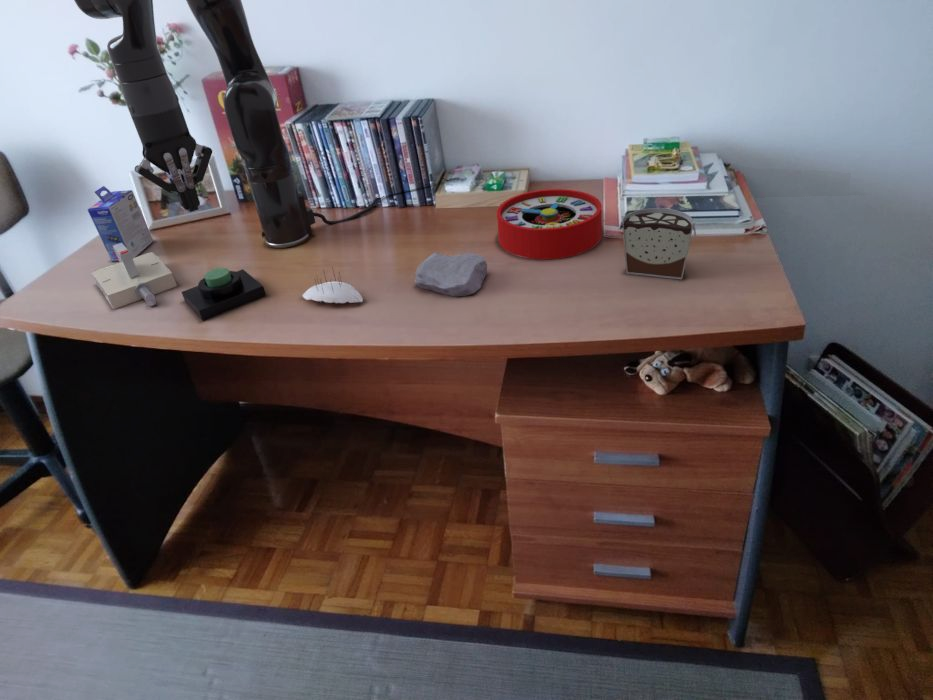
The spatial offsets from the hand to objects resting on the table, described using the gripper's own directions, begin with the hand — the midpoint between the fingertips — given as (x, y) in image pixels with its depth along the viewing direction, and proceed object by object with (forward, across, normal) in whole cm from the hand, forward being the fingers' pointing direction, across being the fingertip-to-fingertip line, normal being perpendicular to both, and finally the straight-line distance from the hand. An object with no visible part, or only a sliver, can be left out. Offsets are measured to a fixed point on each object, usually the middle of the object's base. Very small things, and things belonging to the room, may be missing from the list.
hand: (192, 209), depth 116 cm
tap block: (+17, +10, -19) cm, 27 cm away
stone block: (+18, -30, +30) cm, 46 cm away
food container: (+19, -58, +54) cm, 81 cm away
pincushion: (+18, -13, +18) cm, 28 cm away
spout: (+16, +11, -9) cm, 22 cm away
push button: (+13, 0, +1) cm, 14 cm away
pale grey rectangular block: (+14, +10, -19) cm, 26 cm away
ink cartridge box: (+17, +6, -38) cm, 42 cm away
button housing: (+17, 0, +1) cm, 17 cm away
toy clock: (+19, -56, +30) cm, 66 cm away
